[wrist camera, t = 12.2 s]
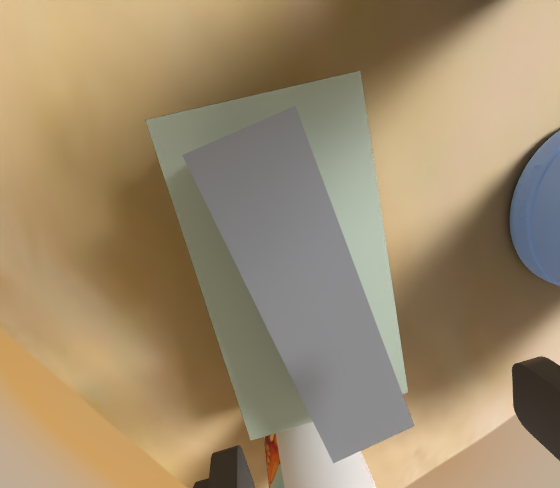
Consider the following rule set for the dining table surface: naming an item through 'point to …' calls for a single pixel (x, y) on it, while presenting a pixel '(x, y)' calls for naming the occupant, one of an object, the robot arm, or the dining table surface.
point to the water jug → (539, 212)
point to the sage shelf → (220, 265)
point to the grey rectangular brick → (302, 279)
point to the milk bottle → (311, 462)
